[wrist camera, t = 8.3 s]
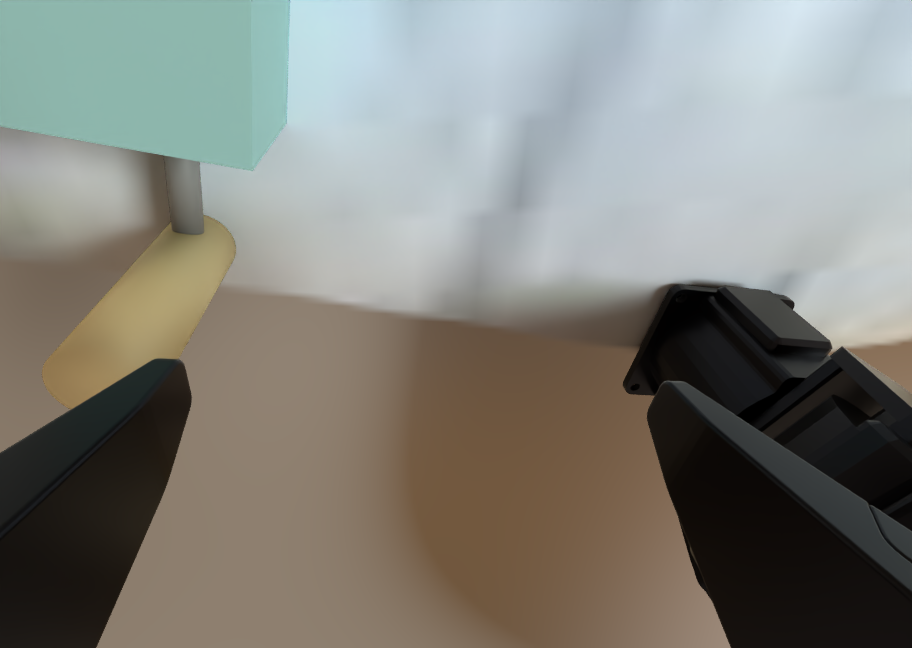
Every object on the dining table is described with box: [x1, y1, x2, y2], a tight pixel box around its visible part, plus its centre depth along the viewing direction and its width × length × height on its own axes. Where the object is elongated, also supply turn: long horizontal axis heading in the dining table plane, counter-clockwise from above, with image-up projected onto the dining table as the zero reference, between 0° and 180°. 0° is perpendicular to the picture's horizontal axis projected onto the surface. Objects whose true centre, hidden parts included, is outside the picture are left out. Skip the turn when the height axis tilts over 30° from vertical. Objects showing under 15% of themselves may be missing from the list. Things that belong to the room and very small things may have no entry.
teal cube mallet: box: [0, 0, 290, 409], centre depth 13 cm, size 12×6×8 cm, turn 167°
